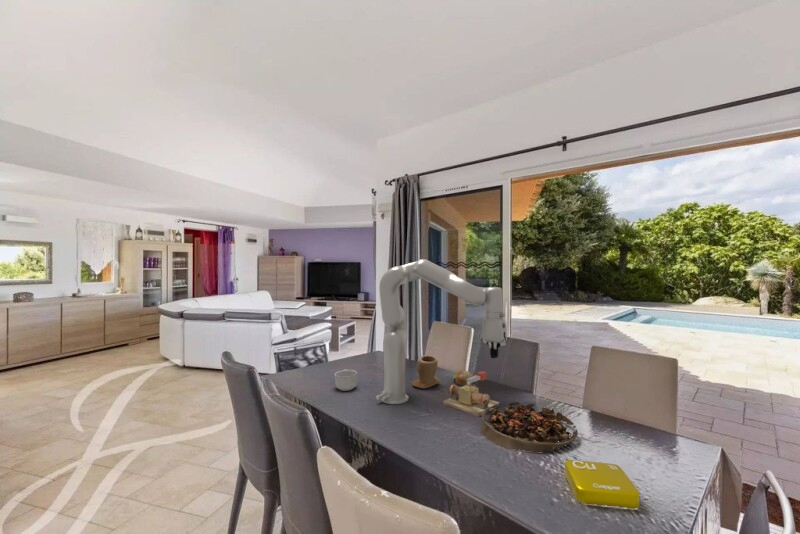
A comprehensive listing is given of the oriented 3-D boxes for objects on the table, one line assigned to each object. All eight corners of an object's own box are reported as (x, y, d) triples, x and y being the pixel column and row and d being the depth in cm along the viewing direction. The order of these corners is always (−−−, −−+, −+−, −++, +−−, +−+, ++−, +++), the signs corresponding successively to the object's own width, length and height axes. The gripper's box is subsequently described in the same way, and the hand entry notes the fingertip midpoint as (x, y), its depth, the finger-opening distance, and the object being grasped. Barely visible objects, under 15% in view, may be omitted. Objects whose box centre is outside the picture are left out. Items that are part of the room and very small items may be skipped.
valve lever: (470, 386, 158) (470, 378, 158) (465, 385, 160) (465, 377, 159) (486, 380, 167) (486, 372, 167) (481, 378, 168) (481, 371, 168)
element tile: (577, 505, 95) (578, 487, 94) (562, 473, 109) (562, 457, 109) (642, 513, 92) (642, 493, 92) (618, 478, 107) (618, 461, 107)
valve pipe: (482, 410, 151) (483, 392, 151) (447, 399, 163) (447, 382, 163) (490, 406, 155) (490, 389, 155) (455, 395, 168) (455, 379, 168)
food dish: (532, 410, 158) (533, 392, 158) (599, 448, 127) (601, 425, 127) (460, 420, 146) (461, 400, 146) (516, 464, 115) (517, 439, 115)
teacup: (355, 392, 175) (355, 376, 175) (332, 392, 176) (332, 375, 176) (359, 383, 189) (359, 367, 189) (337, 383, 190) (338, 367, 190)
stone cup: (427, 392, 176) (427, 361, 176) (408, 386, 185) (408, 356, 184) (446, 384, 187) (446, 355, 187) (428, 379, 196) (428, 351, 195)
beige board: (478, 416, 149) (478, 412, 149) (443, 404, 161) (443, 401, 161) (499, 405, 160) (499, 402, 160) (464, 395, 173) (464, 392, 173)
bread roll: (464, 393, 185) (471, 380, 183) (448, 381, 191) (454, 368, 189) (473, 388, 193) (480, 375, 191) (457, 376, 199) (463, 364, 197)
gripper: (513, 316, 159) (514, 358, 159) (483, 313, 170) (484, 353, 170) (504, 318, 154) (505, 362, 154) (474, 314, 164) (474, 356, 165)
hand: (494, 357), depth 162 cm, fingers closed
